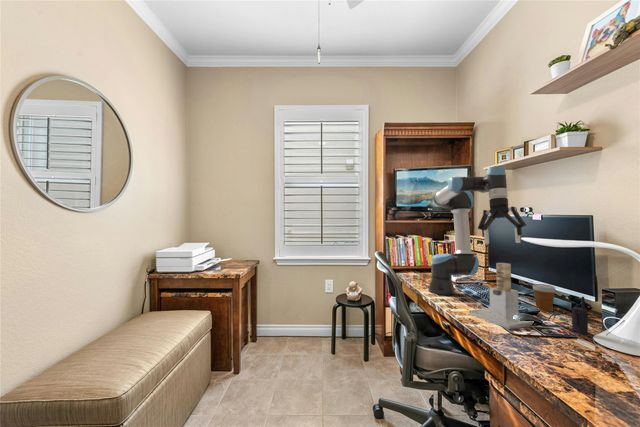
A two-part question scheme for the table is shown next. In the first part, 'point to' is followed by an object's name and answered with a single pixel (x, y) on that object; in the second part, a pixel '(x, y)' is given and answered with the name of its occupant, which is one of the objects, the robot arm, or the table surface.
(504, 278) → the post
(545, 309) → the disposable coffee cup
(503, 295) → the stand
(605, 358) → the table surface
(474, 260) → the robot arm
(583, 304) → the two-way radio
